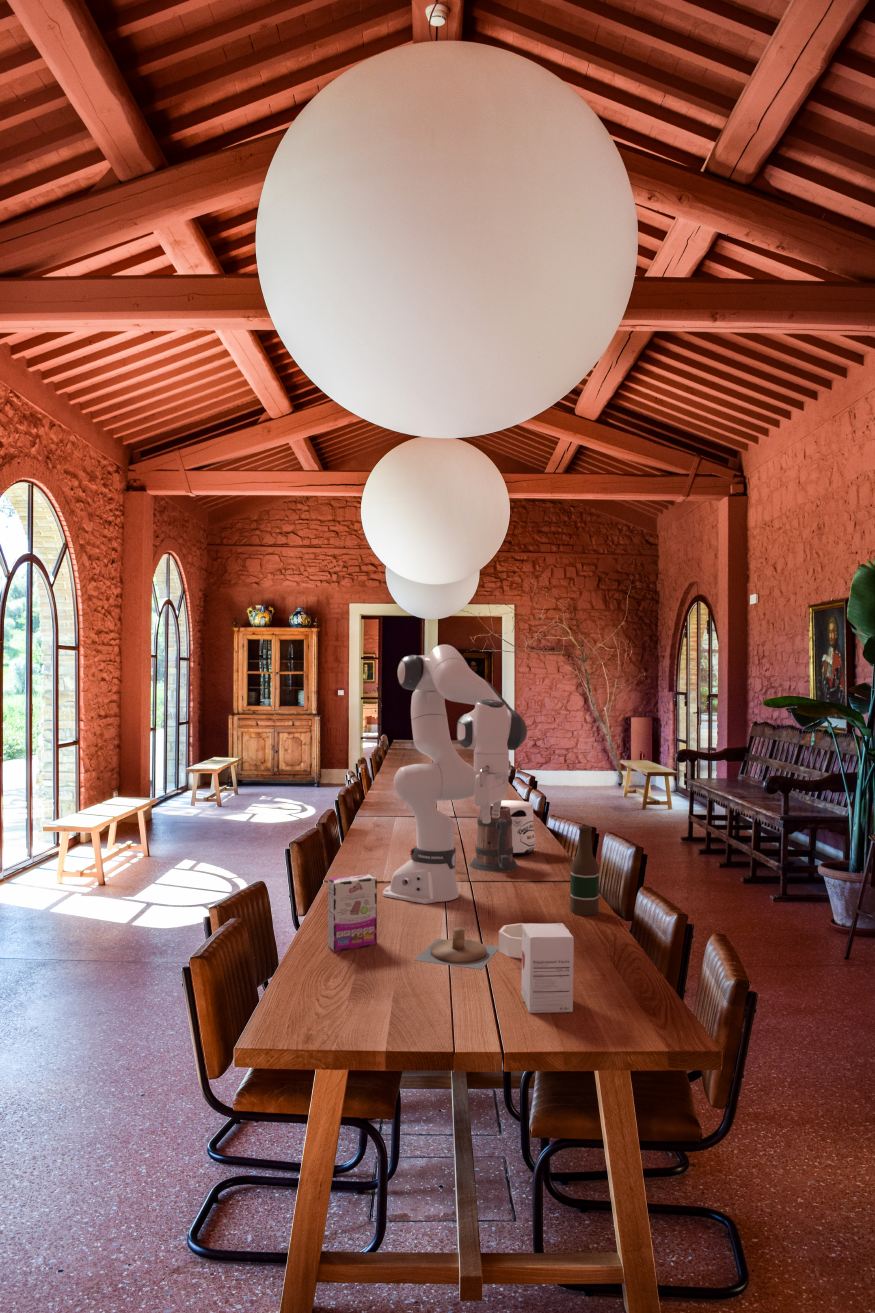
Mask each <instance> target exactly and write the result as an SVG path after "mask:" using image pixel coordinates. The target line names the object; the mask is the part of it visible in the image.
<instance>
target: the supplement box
mask: <svg viewBox="0 0 875 1313" xmlns="http://www.w3.org/2000/svg"><path fill="white" fill-rule="evenodd" d="M574 939H575V938H574V936H573V934H571V932H570V930H569V929H568V928H567V926H566V925H565V924H564V923H562V922H558V923H557V922H556V923H554V922H553V923H531V922H529V923H524V924H522V959H521V996H522V999H523V1000H524V1001H523V1002H524V1003H525V1006H526V1009H527V1010H528V1013H529V1014H545V1013H546V1014H547V1013H549V1014H551V1013H556V1014H557V1013H573V1011H574V957H575V955H574V954H575V953H574V948H575V943H574Z"/></svg>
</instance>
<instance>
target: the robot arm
mask: <svg viewBox="0 0 875 1313" xmlns="http://www.w3.org/2000/svg"><path fill="white" fill-rule="evenodd" d="M397 680H398V683H399V685H400V686H401V687H402V688H403V689H405V690H409V691H413V692H412V695H411V699H410V700H411V701H410V702H411V703H410V719H411V720H410V721H411V731H412V732H411V733H412V739H413V744H414V747H415V749H416V750H417V751H418V752H419V753H421V754H422V755H425V756H427V757H428V758H429V759H431V760H432V762H433V763H413V764H409V765H404V766H401V767H399V768H398V769H397V771H396V773H395V775H394V776H393V788H394V791H395V794H396V796H397V797H398V798H399V799H400V800H402V801H403V802H404V803H405V804H406V805H407V806H408V807H409V808H410V810H411V812H412V814H413V816H414V819H415V824H416V845H414V847H413V848H411V849H410V850H409V853H408V855H409V856H410V860H408V861H407V862H405V863H404V864H402V865H401V866H400V867H399V868H398V869H396V870H395V871H394V872H393V874H392V877H391V881H390V885H387V886H386V887H385V888H384V889H383V890H382V896H383V897H386V898H392V899H396V900H401V901H408V902H413V903H418V904H424V905H425V904H426V905H428V904H432V903H438V902H440V903H442V902H448V901H453V900H456V899H457V898H459V897H460V893H459V891H458V884H457V879H456V869H455V868H456V863H457V854H456V853H457V852H456V847H455V823H454V820H453V819H452V817H450V816H449V815H448V814H446V813H444V812H443V811H440V810H438V809H437V802H439V801H459V800H463V799H468V798H471V797H473V796H474V798H473V799H474V805H475V806H476V807H481V813H482V822H483V823H486V824H488V823H490V822H491V816H490V806H491V805H492V804H493V809H492V818H498V817H500V808H501V801H502V800H503V799H506V798H507V795H508V791H509V790H508V788H509V774H510V773H509V772H510V770H511V768H512V763H511V760H510V751H516V750H517V749H518V748H519V747H521V746H522V745H523V744H524V742H525V741H526V739H527V736H528V727H527V725H526V722H525V720H524V718H523V717H522V715H520V713H518V712H517V711H515V710H514V709H513V708H511V706H510V705H509V703H508V702H507V701H506V700H505V699H504V698H503V696H501V695H502V694H500V693H499V691H498V690H497V689H496V688H495V687H494V686H493V685H492V684H491V682H489V681H487V680H485V679H484V678H483V677H481V676H479V674H477V673H476V672H474V670H472V669H471V668H470V666H469V665H468V662H467V661H466V660H465V658H464V657H463V656H462V654H461V653H460V652H459V651H458V650H457V649H456V648H455V647H454V646H452V645H450V644H439V645H437V646H435V647H434V648H433V649H432V650H431V651H429V654H425V655H424V654H421V655H416V654H410V655H407V656H404V657H403V658H401V660H400V661H399V664H398V667H397ZM445 700H448V701H450V702H454V703H461V704H468V705H474V709H473V710H471V711H470V712H468V713H464V714H463V715H462V716H460V718H459V719H458V721H457V722H456V740H457V742H458V743H459V744H460V746H461V747H463V748H464V749H469V750H473V765H471V764H469V763H468V762H466V761H465V760H464V759H463V758H462V757H461V755H459V753H458V751H457V750H456V749H455V746H454V745H453V743H452V739H451V735H450V729H449V728H450V727H449V722H448V714H447V713H448V712H447V709H446V702H445Z"/></svg>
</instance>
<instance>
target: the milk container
mask: <svg viewBox="0 0 875 1313" xmlns="http://www.w3.org/2000/svg"><path fill="white" fill-rule="evenodd" d="M490 806H493V804H492V805H490ZM501 806H507V807H509V808H510V814H511V819H512V846H513V856H520V855H527V854H530V853H532V852H533V851H534V850H535V847H536V833H535V829H534V811H535V810H534V803H532V802H530V801H524V800H517V799H516V800H514V799H513V800H512V799H511V800H509V799H507V800H503V799H501Z"/></svg>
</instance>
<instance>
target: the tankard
mask: <svg viewBox="0 0 875 1313" xmlns="http://www.w3.org/2000/svg"><path fill="white" fill-rule="evenodd" d="M492 809H493V806H491V805H490V816H491V822H490V823H488V824H486V823H483V822H482V813H481V806H479V811H478V817H477V818H476V819H477V822H476V824H477V831H476V833H477V834H476V845H475V849H474V850H475V857H474V858H473V859H472V861H471V863H470V864H469V867H470V868H471V869H474V870H477V871H482V872H489V873H490V872H491V873H503V872H504V873H506V872H512V871H517V869H519V868H520V866H519V864H518V863H517V862H516V860H515V859H514V858H513V857H514V855H513V846H512V819H511V814H510V808H509V807H507V806H501V808H500V817H498V818H492Z"/></svg>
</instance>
